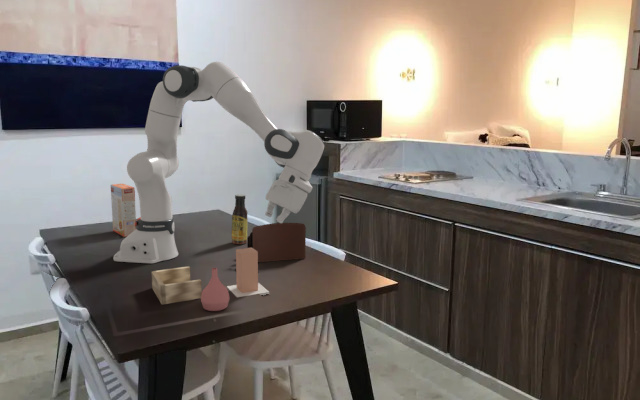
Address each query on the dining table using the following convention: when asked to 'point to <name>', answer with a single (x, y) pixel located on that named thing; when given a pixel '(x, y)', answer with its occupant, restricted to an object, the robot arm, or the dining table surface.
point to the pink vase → (215, 294)
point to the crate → (175, 285)
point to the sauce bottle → (239, 221)
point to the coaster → (238, 293)
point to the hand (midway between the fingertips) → (273, 219)
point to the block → (247, 269)
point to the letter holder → (278, 241)
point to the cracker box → (123, 209)
